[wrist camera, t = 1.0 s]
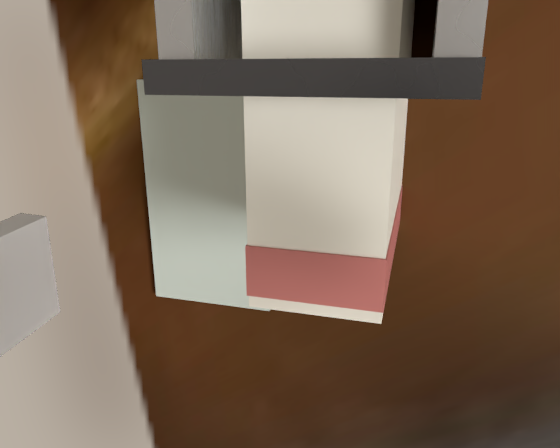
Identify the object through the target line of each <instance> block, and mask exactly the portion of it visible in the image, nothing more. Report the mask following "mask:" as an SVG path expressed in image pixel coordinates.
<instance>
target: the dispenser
mask: <svg viewBox="0 0 560 448" xmlns="http://www.w3.org/2000/svg"><path fill="white" fill-rule="evenodd" d="M154 4H155V17H156V30H157V43H158V56H159V59H156V60H142V69H143V81H144V92H145V95H191V96H262V97H334V98H405V99H477V100H481V92H482V84H483V75H484V67H485V58H486V57H482V50H483V41H484V33H485V24H486V15H487V7H488V0H437V2H436V14H435V25H434V37H433V49H432V58H294V59H242V22H241V0H154Z"/></svg>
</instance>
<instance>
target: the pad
mask: <svg viewBox="0 0 560 448" xmlns="http://www.w3.org/2000/svg"><path fill="white" fill-rule="evenodd" d="M137 91H138V102H139V113H140V124H141V135H142V146H143V157H144V168H145V179H146V190H147V201H148V212H149V222H150V233H151V244H152V255H153V266H154V277H155V288H156V296H160V297H168V298H175V299H183V300H190V301H198V302H205V303H213V304H220V305H227V306H235V307H242V308H250V309H257V310H265V311H270V310H271V309H265V308H257V307H250V306H249V296H247V291H246V255H245V246H246V245H247V210H246V172H245V135H244V97H243V96H191V95H145V92H144V81H143V79H138V80H137Z"/></svg>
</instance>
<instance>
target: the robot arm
mask: <svg viewBox="0 0 560 448" xmlns="http://www.w3.org/2000/svg"><path fill="white" fill-rule="evenodd" d="M58 313H60V307H59V300H58V293H57V287H56V280H55V273H54V266H53V259H52V253H51V246H50V239H49V232H48V225H47V219H46V216H39V215H32V214H24V213H20V214H17V215H15V216H12V217H10V218H8V219H5V220H3V221H1V222H0V357H1V356H2V355H3V354H5V353H6V352H7V351H9V350H10V349H11V348H13V347H14V346H15V345H17V344H18V343H19V342H21V341H22V340H24V339H25V338H26V337H28V336H29V335H30V334H32V333H33V332H34V331H36V330H37V329H38V328H40V327H41V326H42V325H44V324H45V323H46V322H48V321H49V320H50V319H52V318H53V317H55V316H56V315H57V314H58Z"/></svg>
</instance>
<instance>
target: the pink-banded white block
mask: <svg viewBox="0 0 560 448" xmlns="http://www.w3.org/2000/svg"><path fill="white" fill-rule="evenodd" d="M414 11H415V0H241V22H242V59H294V58H411V52H412V38H413V25H414ZM243 97H244V135H245V172H246V210H247V245H246V246H245V255H246V291H247V296H249V306H250V307H257V308H265V309H272V310H280V311H288V312H295V313H303V314H310V315H318V316H325V317H333V318H340V319H348V320H356V321H363V322H371V323H378V324H381V322H382V317H383V312H384V306H385V301H386V295H387V289H388V284H389V278H390V273H391V267H392V262H393V256H394V251H395V245H396V240H397V234H398V229H399V223H400V213H401V200H402V187H403V186H402V174H403V160H404V147H405V133H406V119H407V106H408V99H405V98H334V97H262V96H243Z"/></svg>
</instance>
